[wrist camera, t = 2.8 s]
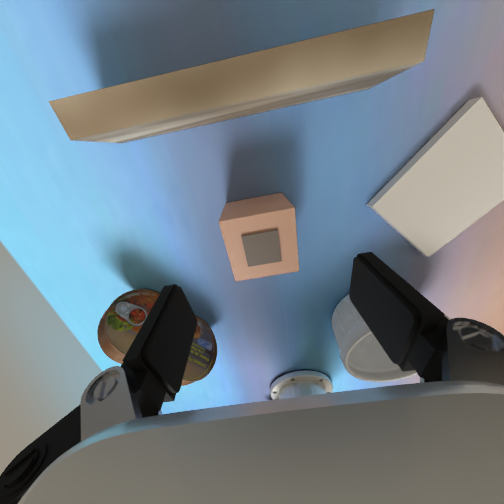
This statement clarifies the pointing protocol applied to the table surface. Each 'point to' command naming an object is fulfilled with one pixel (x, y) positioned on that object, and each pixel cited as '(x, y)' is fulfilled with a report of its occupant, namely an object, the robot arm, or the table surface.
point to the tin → (131, 320)
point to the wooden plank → (248, 83)
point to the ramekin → (362, 347)
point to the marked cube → (260, 236)
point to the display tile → (447, 181)
